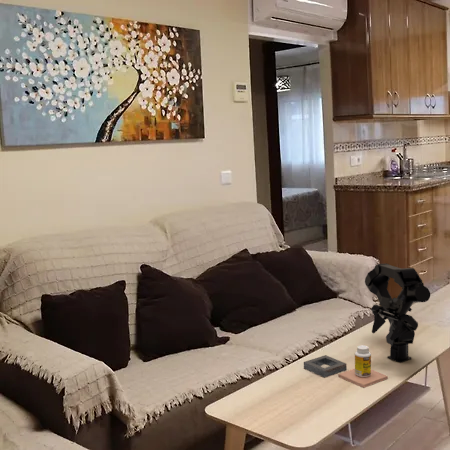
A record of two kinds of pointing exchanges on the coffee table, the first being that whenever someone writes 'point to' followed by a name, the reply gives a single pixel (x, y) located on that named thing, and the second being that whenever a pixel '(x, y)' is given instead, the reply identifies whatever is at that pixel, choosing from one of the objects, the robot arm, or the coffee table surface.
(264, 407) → the coffee table surface
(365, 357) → the supplement bottle
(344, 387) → the coffee table surface
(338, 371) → the frame
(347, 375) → the tile
